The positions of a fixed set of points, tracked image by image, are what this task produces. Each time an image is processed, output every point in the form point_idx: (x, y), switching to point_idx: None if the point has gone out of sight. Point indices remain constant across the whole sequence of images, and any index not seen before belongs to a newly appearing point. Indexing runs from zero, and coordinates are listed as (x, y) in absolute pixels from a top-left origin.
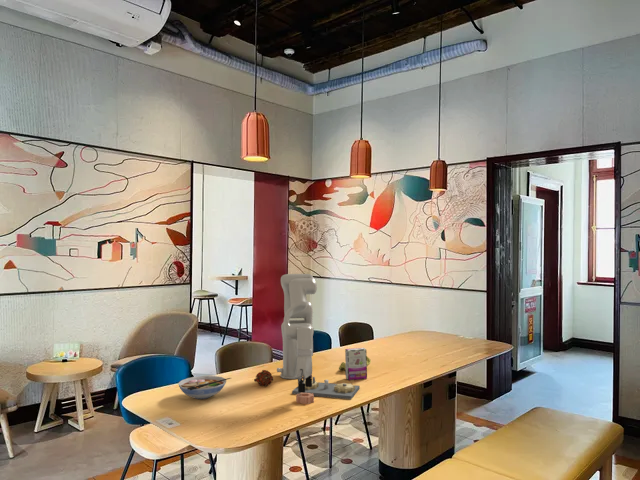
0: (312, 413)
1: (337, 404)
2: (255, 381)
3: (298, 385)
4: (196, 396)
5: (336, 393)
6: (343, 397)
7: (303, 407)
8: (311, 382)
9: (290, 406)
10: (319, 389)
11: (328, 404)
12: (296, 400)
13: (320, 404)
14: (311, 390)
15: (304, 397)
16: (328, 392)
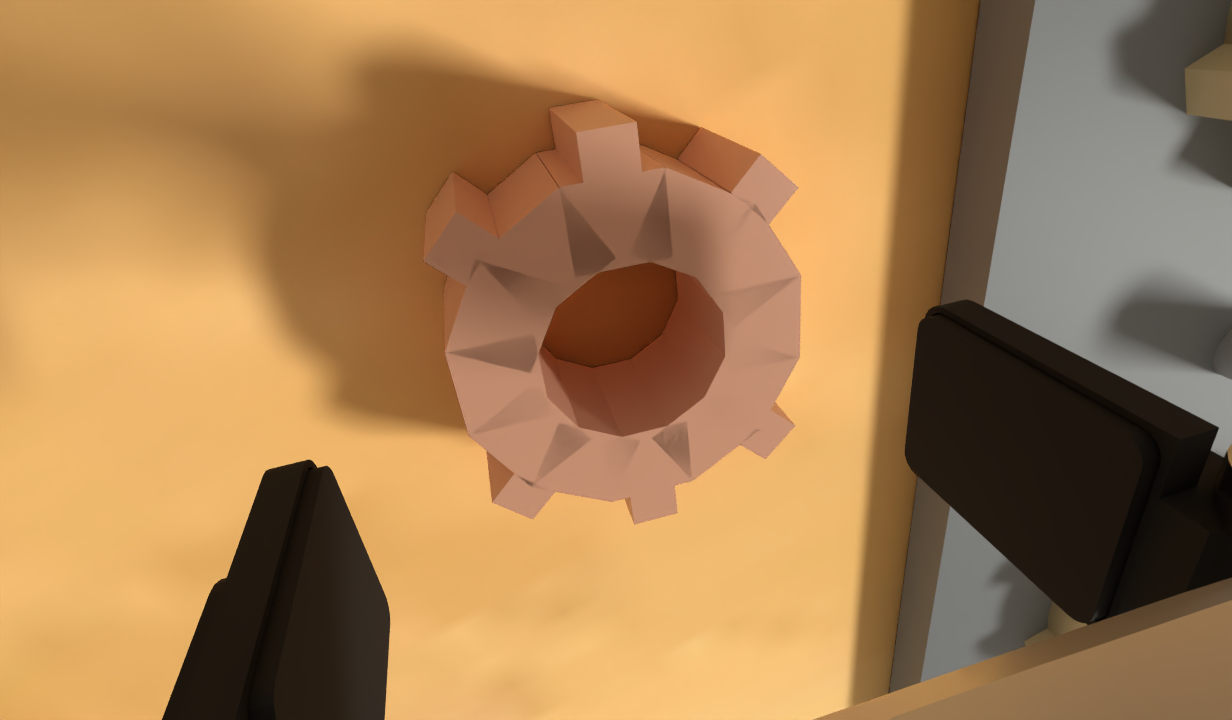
0: (114, 702)
1: (667, 704)
2: None
3: (207, 655)
4: None
5: (991, 583)
6: (905, 656)
7: (267, 453)
8: (998, 540)
9: (114, 192)
10: (1183, 279)
11: (620, 639)
12: (551, 112)
13: (570, 570)
14: (1126, 171)
15: (469, 431)
16: None
